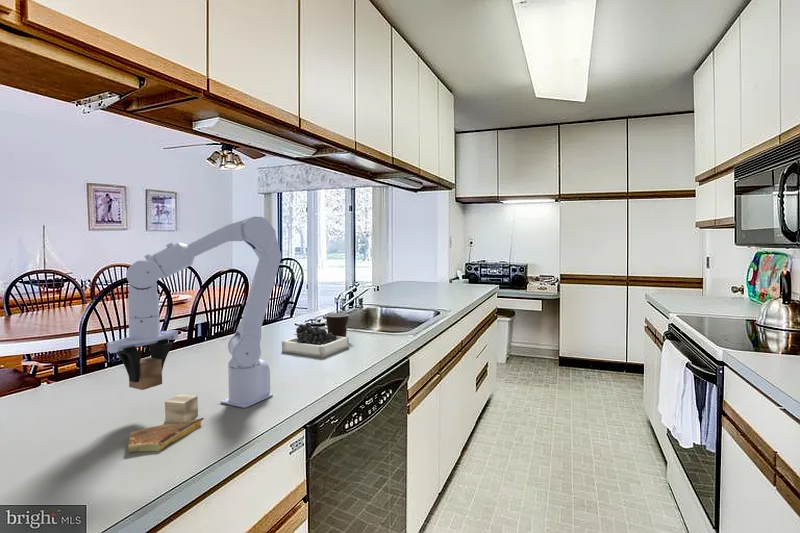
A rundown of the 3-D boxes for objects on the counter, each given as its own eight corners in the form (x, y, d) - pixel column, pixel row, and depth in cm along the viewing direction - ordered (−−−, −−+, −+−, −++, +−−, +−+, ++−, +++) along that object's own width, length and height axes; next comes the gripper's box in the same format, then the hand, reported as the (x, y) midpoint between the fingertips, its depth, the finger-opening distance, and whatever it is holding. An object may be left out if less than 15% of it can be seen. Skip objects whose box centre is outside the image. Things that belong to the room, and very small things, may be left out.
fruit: (336, 319, 158) (294, 320, 154) (340, 330, 151) (295, 332, 146) (334, 339, 161) (293, 341, 157) (338, 352, 154) (294, 354, 150)
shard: (204, 425, 91) (203, 415, 91) (208, 443, 83) (208, 432, 83) (130, 439, 85) (130, 428, 85) (127, 460, 77) (127, 448, 77)
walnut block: (149, 381, 98) (148, 356, 98) (162, 383, 96) (161, 359, 96) (129, 386, 94) (128, 361, 94) (142, 390, 92) (141, 364, 92)
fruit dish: (310, 342, 165) (310, 332, 165) (348, 347, 158) (348, 337, 157) (282, 351, 151) (281, 341, 151) (322, 357, 143) (322, 346, 143)
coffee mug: (341, 344, 162) (341, 317, 161) (321, 342, 165) (321, 316, 165) (355, 337, 173) (355, 312, 172) (336, 336, 176) (336, 311, 175)
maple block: (179, 414, 96) (179, 394, 96) (198, 415, 96) (197, 395, 95) (165, 422, 92) (164, 401, 92) (184, 424, 91) (183, 403, 91)
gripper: (163, 310, 102) (164, 366, 103) (97, 319, 89) (99, 385, 90) (183, 312, 99) (185, 371, 100) (118, 323, 86) (120, 390, 87)
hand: (146, 378), depth 95 cm, fingers closed on walnut block, 4 cm apart
